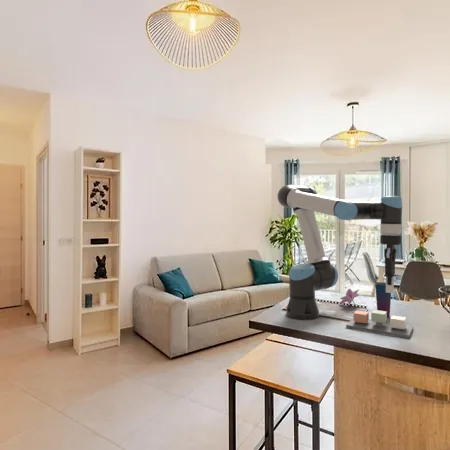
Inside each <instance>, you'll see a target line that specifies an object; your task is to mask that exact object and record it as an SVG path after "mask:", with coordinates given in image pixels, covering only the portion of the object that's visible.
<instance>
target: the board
mask: <svg viewBox="0 0 450 450" xmlns="http://www.w3.org/2000/svg"><path fill="white" fill-rule="evenodd" d="M345 328H346V329H353V330H357V331H363V332H367V333H368V332H370V333H375V334H380V335H386V336H392V337H396V338H404V339H410V338H411V336H412V333H413V330H414V326H413V325H411V324H410V325H409V324H406V328H405V330H404V329H398V328H392V327H390V321H386V322H385V323H380V322H374V321H371V318H369V321H368V322H367V323H360V322H354V317H352V318H351V320H349V321H348V322H347V324H345Z"/></svg>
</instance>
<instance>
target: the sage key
mask: <svg viewBox="0 0 450 450" xmlns="http://www.w3.org/2000/svg"><path fill="white" fill-rule="evenodd" d="M370 317H371V318H370V319H371V321H374V322H380V323H385V322H388V321H387V320H388V318H387V311H379V310H377V309H373V310H372V311H371V315H370Z"/></svg>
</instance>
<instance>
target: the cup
mask: <svg viewBox="0 0 450 450" xmlns="http://www.w3.org/2000/svg"><path fill="white" fill-rule="evenodd" d="M374 286H375V296H376V299H375V300H376V310H379V311H387V319H388V318H391V303H392V302H391V299H392V298H391V297H392V293H387V292H386V281H385V282H383V281H379V282H375V284H374Z"/></svg>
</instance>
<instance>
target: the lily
mask: <svg viewBox="0 0 450 450" xmlns="http://www.w3.org/2000/svg"><path fill="white" fill-rule="evenodd" d="M359 291H360V289H356V290H354V291H353V290H352V289H351V288H348V289H346V292H345V295H344V296H342V297H340V300H341V301H340V302H339V304H338V305H339V306H341V305H344V303H348V304H349V305H351V304H352V303H353V304H354V306H355V309H357V305H356V303H355V301H354V298H357V297H359V296H360V294H359ZM350 303H351V304H350ZM340 304H341V305H340Z"/></svg>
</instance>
